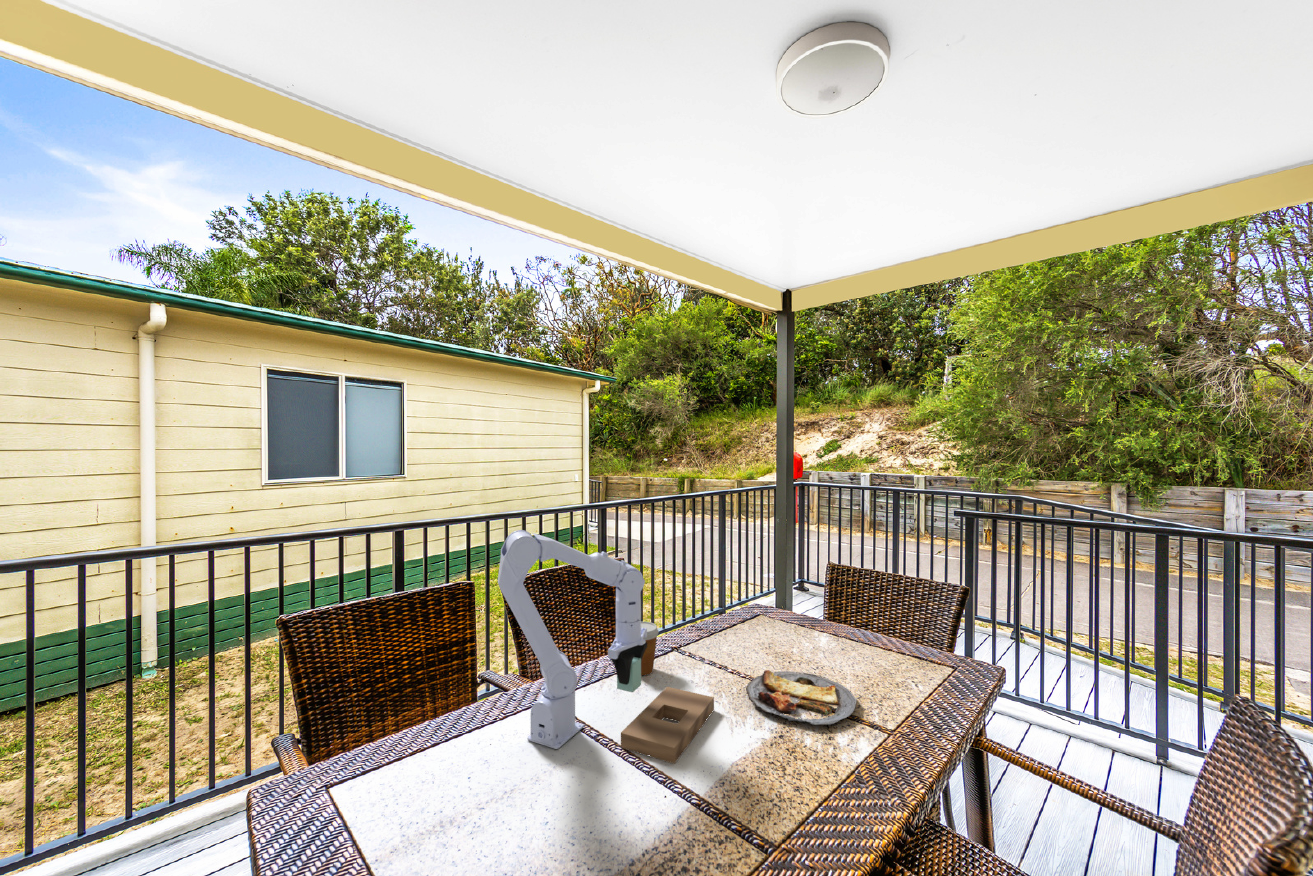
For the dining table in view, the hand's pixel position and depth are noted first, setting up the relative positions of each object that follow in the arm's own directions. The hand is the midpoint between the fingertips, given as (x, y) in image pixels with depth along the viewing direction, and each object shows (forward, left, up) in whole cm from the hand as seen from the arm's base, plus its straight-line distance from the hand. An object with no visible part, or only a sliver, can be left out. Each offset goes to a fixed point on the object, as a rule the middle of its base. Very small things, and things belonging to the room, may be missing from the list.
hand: (628, 679), depth 114 cm
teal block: (0, 0, -2) cm, 2 cm away
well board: (0, -10, -8) cm, 13 cm away
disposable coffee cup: (+22, +9, -9) cm, 25 cm away
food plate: (+24, -33, -9) cm, 42 cm away
